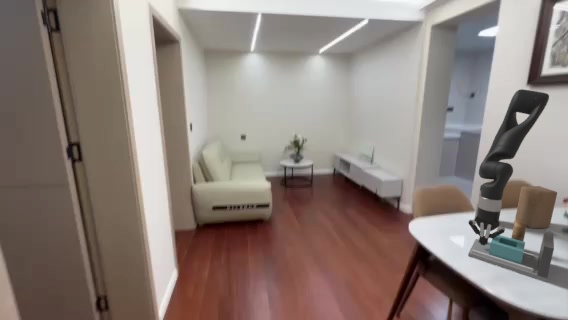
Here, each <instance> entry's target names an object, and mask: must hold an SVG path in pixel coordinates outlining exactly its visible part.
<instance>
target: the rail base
mask: <svg viewBox="0 0 568 320" xmlns="http://www.w3.org/2000/svg"><path fill="white" fill-rule="evenodd" d="M554 235H555V234H554V232H552V231H548V230H544V231H543V236H542V239H541V244H540V250H539V254H538V256H537V255H535V254H532V253H530V252H526V251H524V252H523V257H522V262H521V264H517V263H514V262H511V261H508V260H505V259H502V258H499V257H495V256H492V255H489V250H490V245H491V241H488V243H487V245H485V246H484V245H481V243H479V238H475V240H474V241H473V244H472V245H471V247H470V250H469V251H468V253H467V256H468V257H471V258H472V259H475V260H479V261H482V262H485V263H487V262H488V263H487V264H490V263H491V265H493V264H494V265H493V266H496V265H497V266H496V267H499V266H500V267H499V268H503V269H505V268H506V270H508V269H509V271H511V270H512V272H514V271H515V273H517V272H518V274H520V275H524V276H527V277H530V278H532V279H536V280H539V281H541V282H545V283H547V281H548V276H549V271H550V266H551V263H552V259H553V254H554V250H555V244H554V243H555V239H554V238H555V237H554Z"/></svg>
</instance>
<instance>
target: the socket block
mask: <svg viewBox="0 0 568 320" xmlns="http://www.w3.org/2000/svg"><path fill="white" fill-rule="evenodd" d="M490 242H491V245H490V250H489V255H492V256H495V257H499V258H502V259H505V260H508V261H511V262H514V263H517V264H521V262H522V257H523V252H525V246H526V241H520V240H516V239H512V237H508V236H504V235H502V234H500V235H498V236H497V237H495V238H493V239H492V238H491V241H490Z"/></svg>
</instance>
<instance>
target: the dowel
mask: <svg viewBox="0 0 568 320" xmlns="http://www.w3.org/2000/svg"><path fill="white" fill-rule="evenodd" d="M513 222H514V223H513V228H512V232H511V233H512V234H511V238H512V239H516V240H520V241H523V242H525V241H524V240H525V236H526V232H527V231H526V230H527V227H528V226H527V222H525V221H522V220H515V219H514V221H513Z"/></svg>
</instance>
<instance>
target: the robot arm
mask: <svg viewBox="0 0 568 320" xmlns="http://www.w3.org/2000/svg"><path fill="white" fill-rule="evenodd" d="M549 99H550V95H549V93H546V92H542V91H536V90H535V91H534V90H529V89H523V88H522V89H518V90H516V92H515V93H514V94H513V96H512V97H511V100H510V101H509V102H510V103H509V105H508V108H507V110H506V113H505V115H504V118H503V120H502V123H501V125H500V127H499V128H498V130H497V133H496V134H495V137H494V139H493V140H492V143H491V146H490V148H489V150H488V152H487V154H486V155H485V157H484V159H483V160H482V162H481V163H480V165H479V169H478V175H479V177H480V178H481V179H484V180H492V181H489V182H487V181H486V182H484V183H483V184H481V185H479V186H480V187H479V193H478V198H477V199H478V200H477V203H476V208H475V214H474V219H470V220H469V219H468V222H467V224H468V225H469V226H470V228H471V229H472V231H473V232H474V233H475V234H476V235H478V236H479V238H478V239H479V243H481V245H484V246H485V245H487V243H488V242H489V239H491V240H492V239H493V238H495V237H497V236H498V235H503V234H504V233H505V232H506V229H505V227H502V226H501V225H500V215H501V211H502V204H503V201H502V200H503V194H504V190H505V188H506V187H507V186H506V185H507V183H508V182H509V181H510V178H511V177H512V175H513V173H514V168H513V166H512V164H510V163H508V162H504V161H505V160H513V159H514V158H515V157H516V154H517V153H518V152H519V149H520V146H521V145H522V143H523V142H524V140H525V138H526V136H527V135H528V133H530V131H531V130H532V128H533V127H534V125H535V123H536V122H537V121H538V119H539V117H540V116H541V114H542V113H543V112H544V110H545V108H546V107H547V105H548V103H549ZM517 113H521V114H525V115H528V116H527V117H526V119H524V120H523V121H522V122H521V123H519V122H518V120H517ZM502 160H503V161H502ZM495 229H496V231H494V230H495ZM492 231H494V232H492ZM491 232H492V233H491Z"/></svg>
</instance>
